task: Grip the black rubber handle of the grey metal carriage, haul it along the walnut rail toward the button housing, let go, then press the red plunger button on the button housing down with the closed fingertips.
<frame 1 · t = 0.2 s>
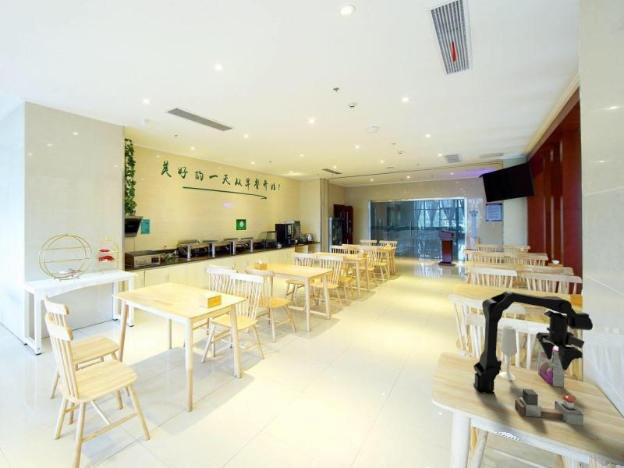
hand: (556, 364, 116), 14 cm above the table, fingers open, 9 cm apart
red plunger button: (568, 404, 104), point 5 cm above the table, slide at 0.0 cm
rail: (538, 414, 106), on the table
candy bar box: (550, 380, 130), on the table
button housing: (568, 417, 105), on the table
champagne flute: (507, 376, 133), on the table
carriage: (529, 402, 107), point 4 cm above the table, slide at -3.0 cm
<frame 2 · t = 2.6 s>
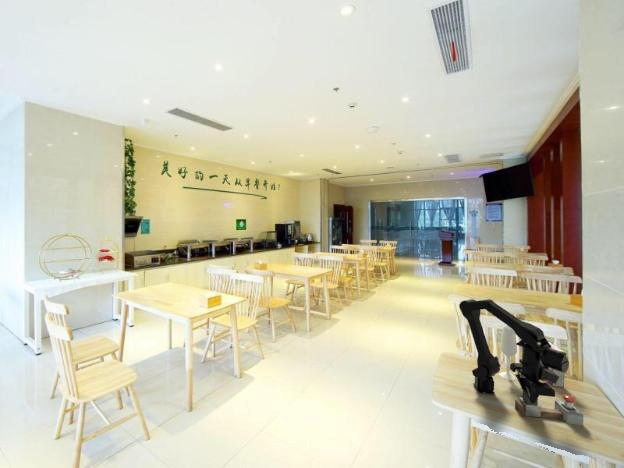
hand: (529, 400, 107), 5 cm above the table, fingers closed on carriage, 3 cm apart
carriage: (529, 402, 107), point 4 cm above the table, slide at -3.0 cm, touching gripper
everything else where it was.
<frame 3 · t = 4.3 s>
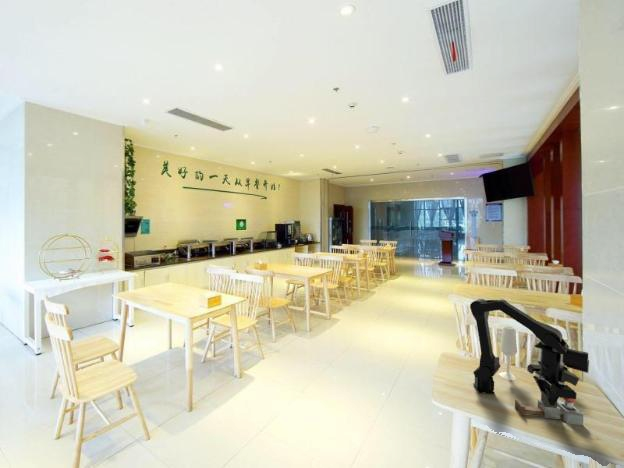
hand: (548, 402, 106), 5 cm above the table, fingers closed on carriage, 3 cm apart
carriage: (548, 404, 106), point 4 cm above the table, slide at 3.4 cm, touching gripper
everything else where it was.
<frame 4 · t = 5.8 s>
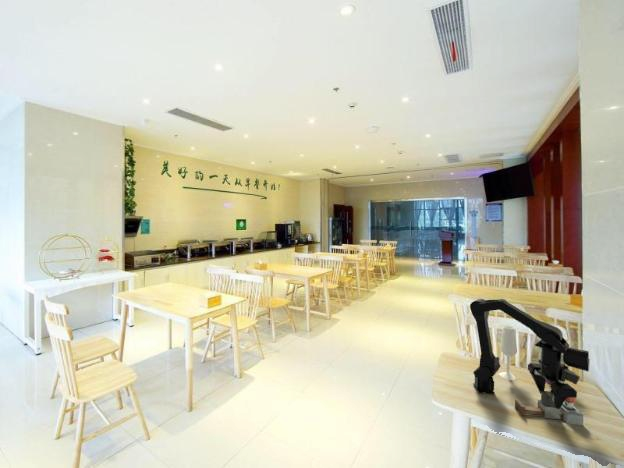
hand: (549, 400, 106), 6 cm above the table, fingers open, 9 cm apart
carriage: (548, 404, 106), point 4 cm above the table, slide at 3.5 cm
everything else where it was.
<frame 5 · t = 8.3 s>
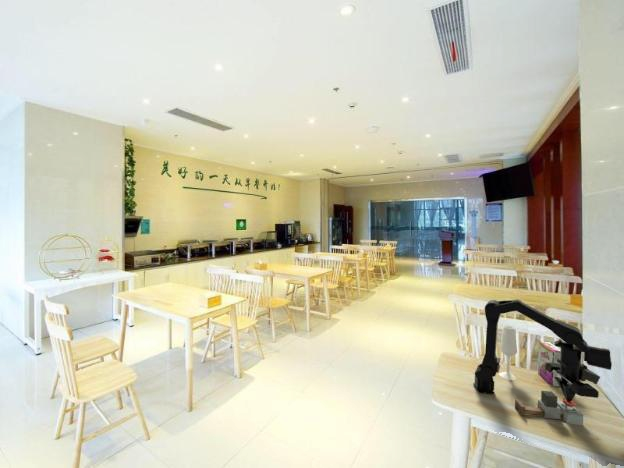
hand: (568, 400, 104), 6 cm above the table, fingers closed, pressing on red plunger button
red plunger button: (568, 407, 105), point 4 cm above the table, slide at 1.5 cm, touching gripper
everything else where it was.
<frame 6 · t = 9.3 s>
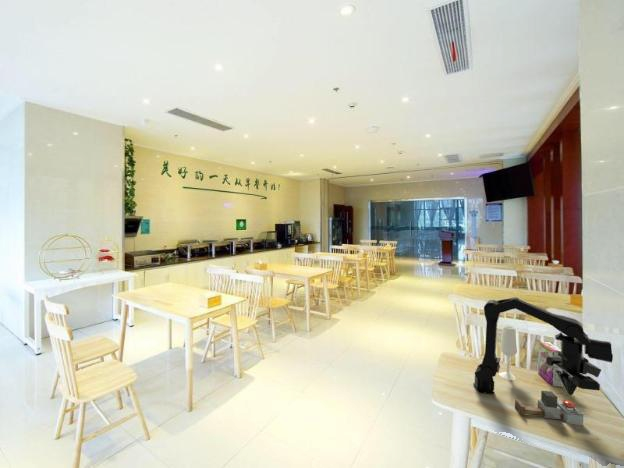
hand: (569, 394, 104), 9 cm above the table, fingers closed
red plunger button: (568, 409, 105), point 3 cm above the table, slide at 2.1 cm
everything else where it was.
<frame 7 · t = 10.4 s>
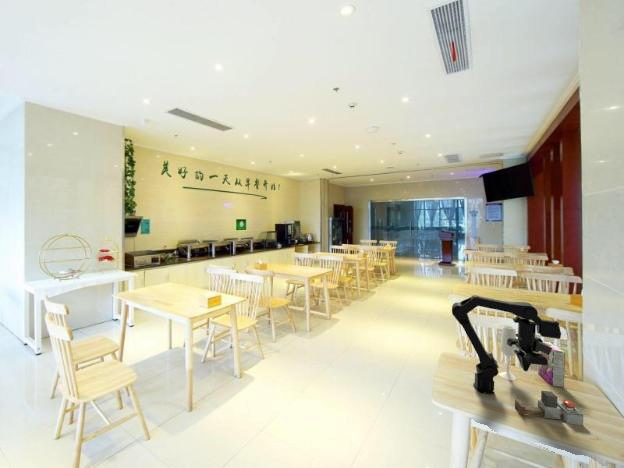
hand: (525, 370, 115), 12 cm above the table, fingers closed
nothing on the table moved.
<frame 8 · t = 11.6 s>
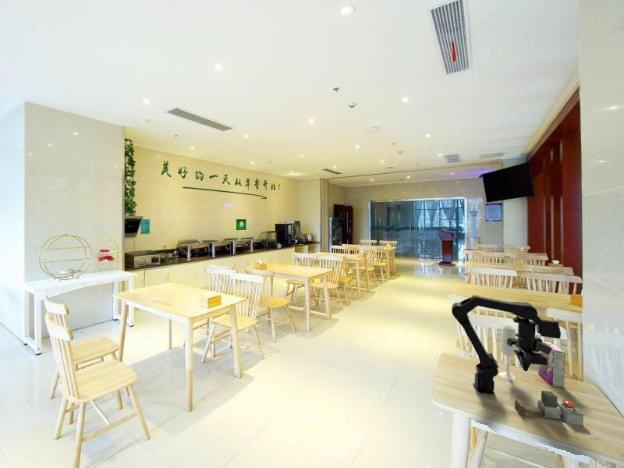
hand: (525, 370, 115), 12 cm above the table, fingers closed
nothing on the table moved.
at the end: carriage slide at 3.5 cm; red plunger button slide at 2.1 cm; the gripper is holding nothing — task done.
